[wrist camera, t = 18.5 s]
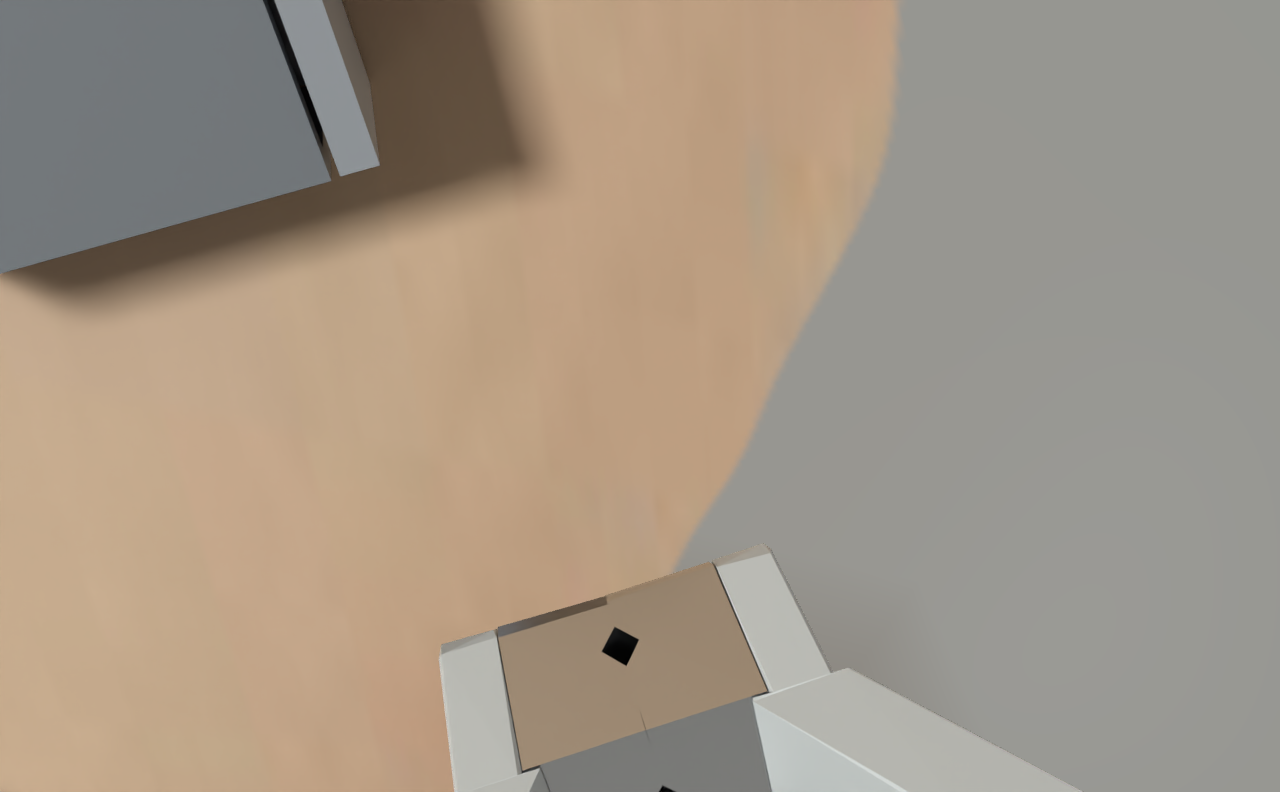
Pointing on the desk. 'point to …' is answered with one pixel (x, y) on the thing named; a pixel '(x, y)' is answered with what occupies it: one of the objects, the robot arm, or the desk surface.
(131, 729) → the desk surface
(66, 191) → the housing
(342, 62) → the tray
